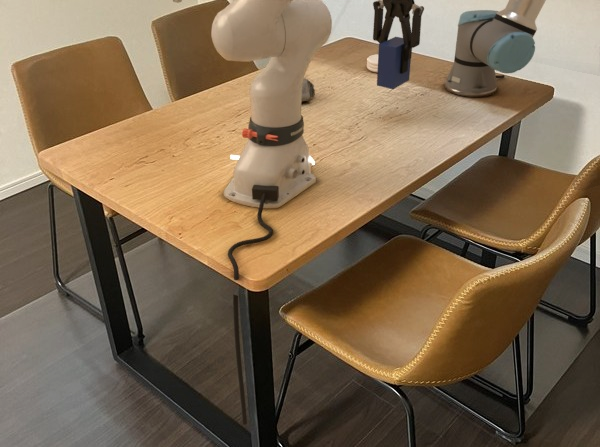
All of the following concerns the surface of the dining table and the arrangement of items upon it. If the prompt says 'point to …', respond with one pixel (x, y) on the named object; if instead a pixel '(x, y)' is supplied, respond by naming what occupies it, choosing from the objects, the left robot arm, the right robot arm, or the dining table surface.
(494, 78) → the right robot arm
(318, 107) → the dining table surface
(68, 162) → the dining table surface
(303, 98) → the rock
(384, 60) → the brick
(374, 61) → the coaster
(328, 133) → the dining table surface
